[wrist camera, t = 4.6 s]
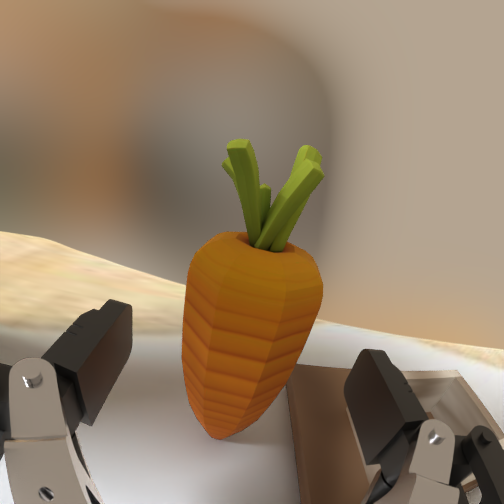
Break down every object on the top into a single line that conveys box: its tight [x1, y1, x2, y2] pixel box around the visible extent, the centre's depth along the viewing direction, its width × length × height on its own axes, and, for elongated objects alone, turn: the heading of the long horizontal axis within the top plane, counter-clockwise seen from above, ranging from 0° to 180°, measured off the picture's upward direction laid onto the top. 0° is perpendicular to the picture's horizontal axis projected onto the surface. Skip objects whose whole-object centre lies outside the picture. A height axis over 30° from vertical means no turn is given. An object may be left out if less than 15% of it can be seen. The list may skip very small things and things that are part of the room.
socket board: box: [286, 364, 504, 504], centre depth 13 cm, size 14×13×5 cm
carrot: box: [182, 139, 324, 440], centre depth 11 cm, size 5×5×15 cm
